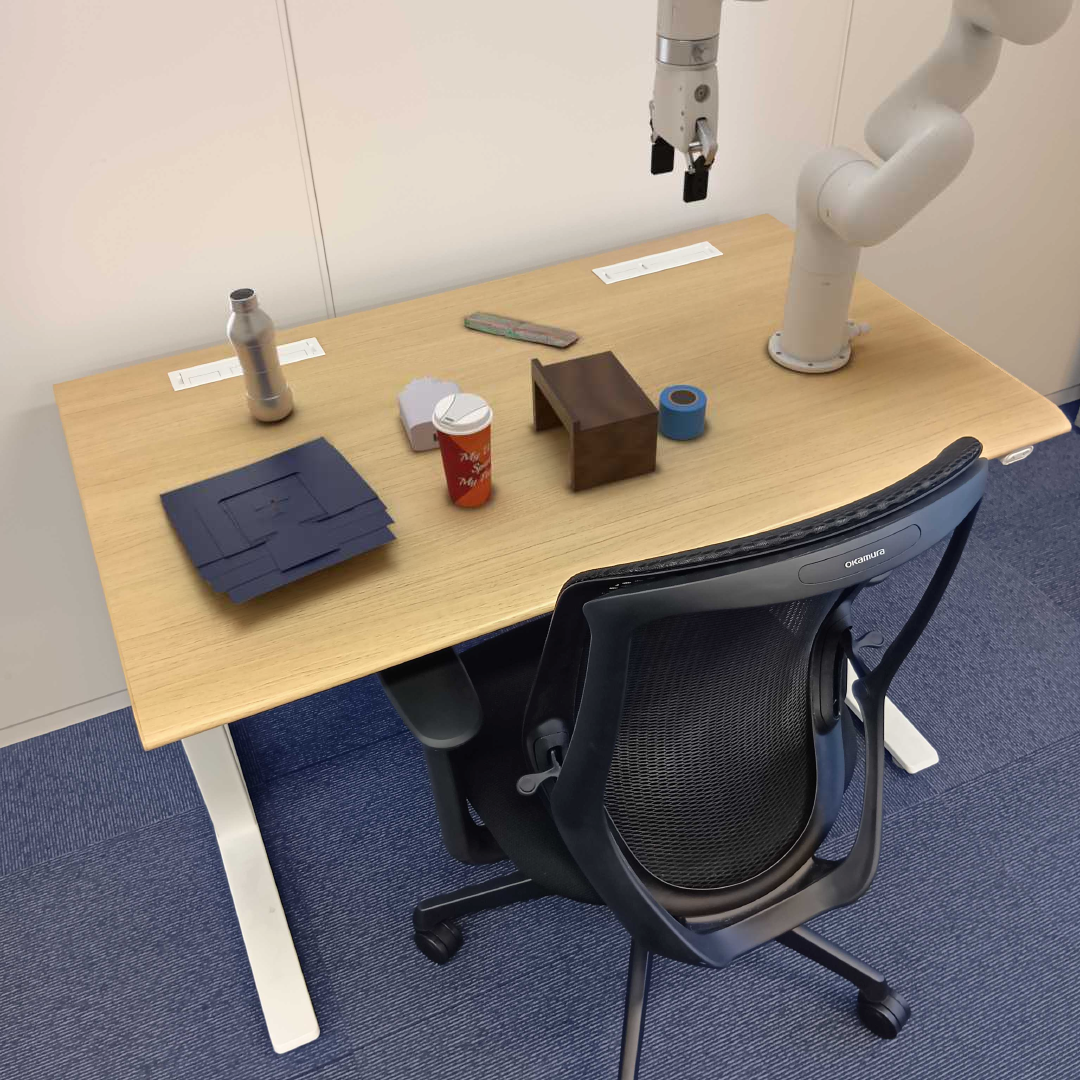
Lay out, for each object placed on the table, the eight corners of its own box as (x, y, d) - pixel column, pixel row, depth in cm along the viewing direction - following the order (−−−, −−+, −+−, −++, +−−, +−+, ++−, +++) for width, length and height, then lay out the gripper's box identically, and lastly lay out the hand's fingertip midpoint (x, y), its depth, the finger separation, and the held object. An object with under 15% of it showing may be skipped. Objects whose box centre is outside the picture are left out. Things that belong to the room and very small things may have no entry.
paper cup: (477, 519, 128) (469, 433, 119) (430, 500, 131) (418, 414, 122) (510, 486, 133) (504, 400, 124) (464, 469, 136) (455, 384, 127)
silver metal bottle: (305, 412, 147) (276, 292, 134) (267, 433, 144) (234, 311, 130) (279, 396, 151) (249, 277, 137) (242, 416, 147) (207, 296, 134)
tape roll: (691, 409, 145) (693, 379, 141) (711, 433, 140) (715, 404, 137) (650, 419, 143) (652, 389, 140) (669, 444, 139) (672, 414, 135)
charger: (450, 384, 152) (476, 439, 141) (392, 396, 150) (413, 453, 139) (447, 358, 149) (473, 412, 138) (387, 370, 147) (409, 425, 136)
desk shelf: (609, 408, 146) (610, 341, 138) (655, 471, 135) (659, 401, 127) (533, 427, 143) (530, 359, 135) (574, 492, 132) (573, 422, 124)
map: (472, 314, 168) (471, 309, 168) (581, 333, 161) (581, 328, 160) (457, 328, 165) (457, 323, 164) (569, 348, 157) (568, 343, 157)
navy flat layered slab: (225, 629, 113) (216, 606, 111) (163, 512, 135) (155, 490, 133) (414, 550, 122) (409, 527, 120) (328, 452, 144) (323, 430, 142)
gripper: (749, 64, 114) (734, 206, 125) (682, 25, 126) (674, 158, 137) (691, 73, 112) (681, 217, 124) (629, 33, 124) (625, 167, 136)
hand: (677, 186), depth 131 cm, fingers open, 9 cm apart
